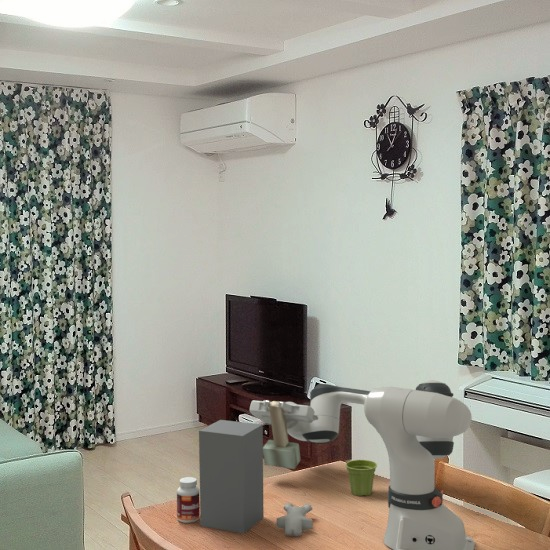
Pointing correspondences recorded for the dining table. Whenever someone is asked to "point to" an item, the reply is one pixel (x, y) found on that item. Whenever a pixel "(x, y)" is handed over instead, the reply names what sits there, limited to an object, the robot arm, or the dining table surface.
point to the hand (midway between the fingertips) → (273, 403)
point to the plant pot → (361, 476)
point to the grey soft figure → (295, 519)
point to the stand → (231, 475)
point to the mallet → (280, 442)
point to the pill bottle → (188, 500)
